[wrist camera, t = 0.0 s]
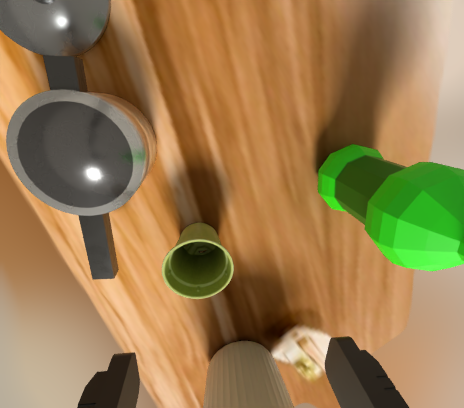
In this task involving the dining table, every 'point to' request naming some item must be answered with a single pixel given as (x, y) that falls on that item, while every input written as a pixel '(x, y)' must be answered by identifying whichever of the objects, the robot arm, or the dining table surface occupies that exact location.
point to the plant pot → (197, 263)
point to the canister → (245, 379)
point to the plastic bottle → (399, 205)
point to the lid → (55, 24)
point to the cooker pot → (81, 154)
